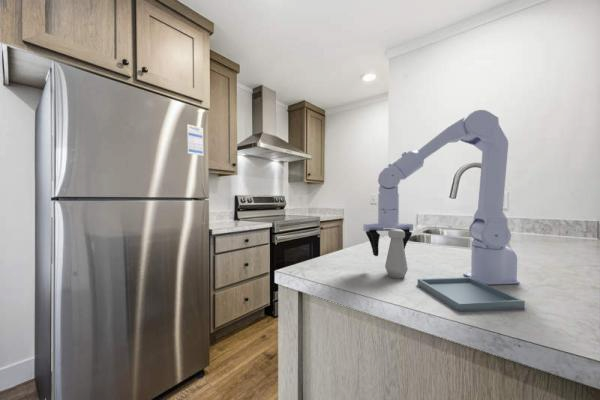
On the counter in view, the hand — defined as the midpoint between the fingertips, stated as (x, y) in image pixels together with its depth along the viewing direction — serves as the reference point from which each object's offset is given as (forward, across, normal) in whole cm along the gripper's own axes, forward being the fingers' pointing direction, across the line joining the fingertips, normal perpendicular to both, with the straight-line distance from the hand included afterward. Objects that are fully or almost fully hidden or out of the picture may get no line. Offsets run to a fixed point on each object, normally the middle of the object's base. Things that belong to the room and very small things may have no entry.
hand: (387, 255), depth 73 cm
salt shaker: (+5, 0, +5) cm, 7 cm away
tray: (+5, -9, +19) cm, 22 cm away
